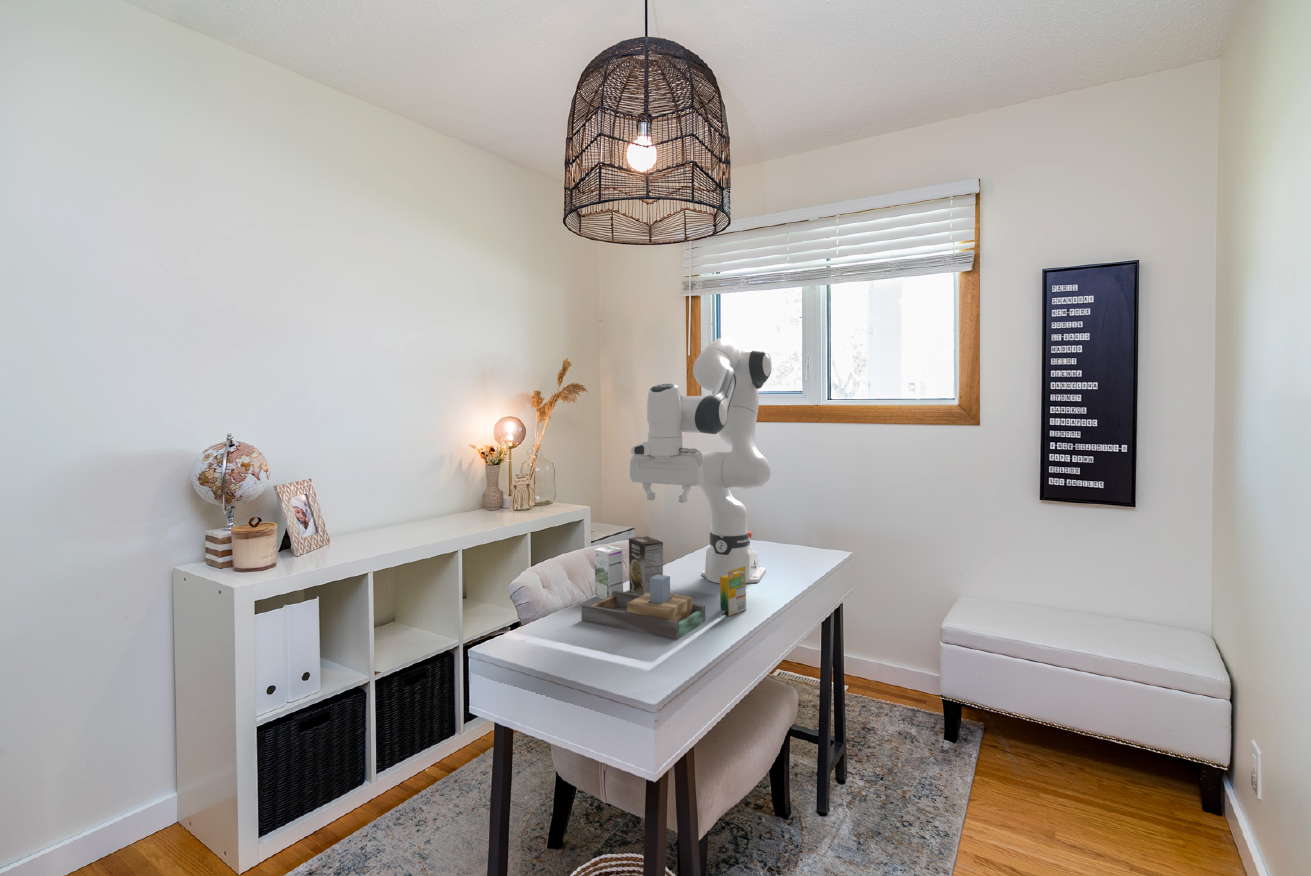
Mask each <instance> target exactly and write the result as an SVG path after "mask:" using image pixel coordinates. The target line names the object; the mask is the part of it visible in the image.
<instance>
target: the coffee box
mask: <svg viewBox="0 0 1311 876" xmlns="http://www.w3.org/2000/svg"><path fill="white" fill-rule="evenodd" d="M628 565H629V566H628V568H629V569H628V571H629V575H628V576H629V582H628V583H629V592H632V593H633V594H639V595H644V594H646V593H649V592H650V578H651V577H653V576H655V575H664V542H663V541H661V540H658V539H656V538H653V537H650V536H648V535H647V536H636V537H629V538H628Z"/></svg>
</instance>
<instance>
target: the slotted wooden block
mask: <svg viewBox="0 0 1311 876" xmlns="http://www.w3.org/2000/svg"><path fill="white" fill-rule="evenodd" d="M692 603H693V597H692V596H686V595H680V594H676V593H675V594H674V593H670V600H668V601H667V602H665V603H663V604H661V605H659V604H653V603H650V592H649V593H646V594H644V595H642V596H640V597H638V598H636V599H634V600H632V601H630V602H628V603H627V609H626V612H630V613H635V614H641V615H646V616H652V617H657V618H663V619H668V620H674V621H679V622H680V621H682V620H683V619H685V618H686V617H688V616H690V615H691V614H692Z"/></svg>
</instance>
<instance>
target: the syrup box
mask: <svg viewBox="0 0 1311 876" xmlns="http://www.w3.org/2000/svg"><path fill="white" fill-rule="evenodd" d="M623 563H624V562H623V549H622V548H619V547H616V546H610V545H607V546H602V547H601V546H600V547H598V548H594V583H595V584H594V585H595V586H594V589H595V590H594V593H595V597H596V598H599V599H602V600H603V599H606V598H608V597H610V596H612V592H613V591H620V592H624V576H623V575H624V573H623V571H624V570H623V566H624V565H623Z"/></svg>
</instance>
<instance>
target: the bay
mask: <svg viewBox="0 0 1311 876" xmlns="http://www.w3.org/2000/svg"><path fill="white" fill-rule="evenodd" d="M640 596H642V595H639V594H636V593H633V592H632V593H631V592H626V591H623V592H620V591H613V592H612V596H610V597H608V598H606V599H602V600H599V601H597V602H595V603H593V604H581V606H580V607H581V622H584V623H590V624H593V625H598V626H599V625H600V626H605V627H610V628H613V629H614V628H615V629H620V630H625V631H630V632H633V633H634V632H636V633H638V634H639V633H640V634H646V635H648V636H655V637H660V638H664V639H665V638H666V639H669V640H674V641H677V640H679V639H681V638H682V637H683V636H684V635H686V634H688V633H689V632H691V631H692V630H694V629H695V628H697V627H699V626H700V625H702V624H703V623H705V621H706V605H704V604H699V603H693V602H692V614H691V615H690V616H688V617H686V618H685V619H683V620H682V621H680V622H679V621H674V620H668V619H663V618H657V617H652V616H646V615H641V614H635V613H630V612H627V611H625V610H627V603H628V602H630V601H632V600H634V599H636V598H638V597H640ZM614 608H620V609H625V610H624V611H623V610H620V609H619V610H618V609H614Z"/></svg>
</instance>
